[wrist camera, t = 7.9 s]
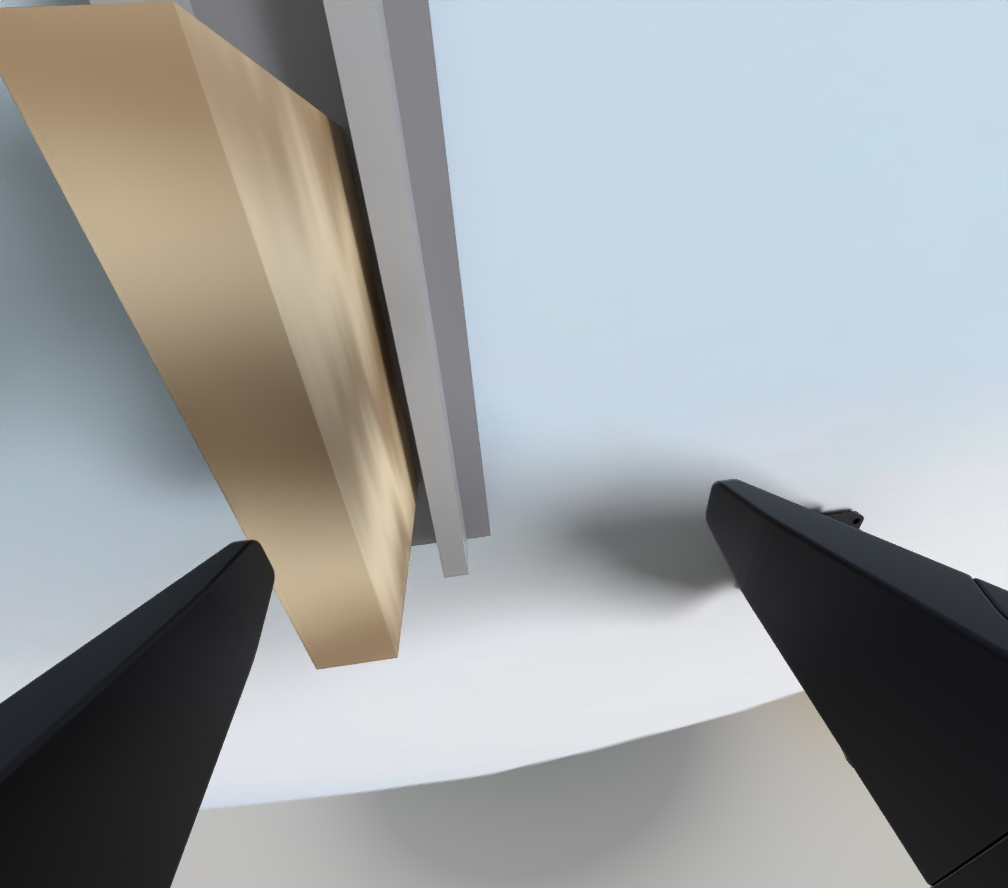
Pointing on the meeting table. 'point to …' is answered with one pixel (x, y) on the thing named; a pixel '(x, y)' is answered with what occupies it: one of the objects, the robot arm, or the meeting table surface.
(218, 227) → the door panel
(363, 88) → the door track
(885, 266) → the meeting table surface
